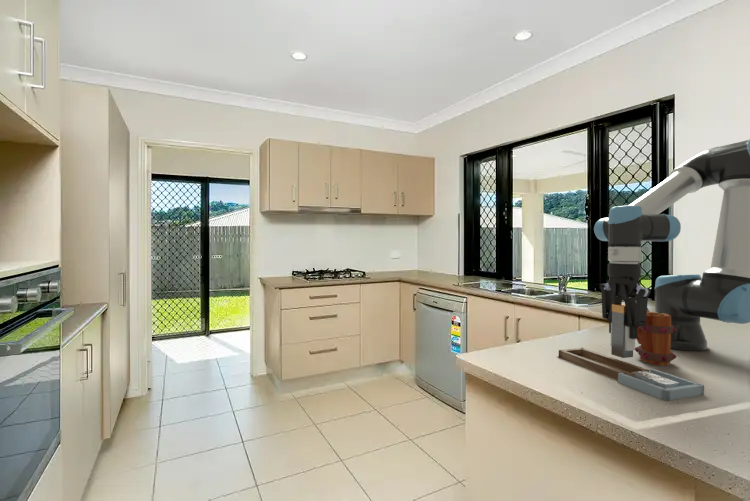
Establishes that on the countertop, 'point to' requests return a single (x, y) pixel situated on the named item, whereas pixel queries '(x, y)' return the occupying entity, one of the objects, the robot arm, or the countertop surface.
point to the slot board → (598, 362)
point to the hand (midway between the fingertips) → (622, 347)
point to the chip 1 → (643, 375)
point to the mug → (656, 339)
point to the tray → (683, 391)
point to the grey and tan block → (619, 331)
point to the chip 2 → (663, 382)
